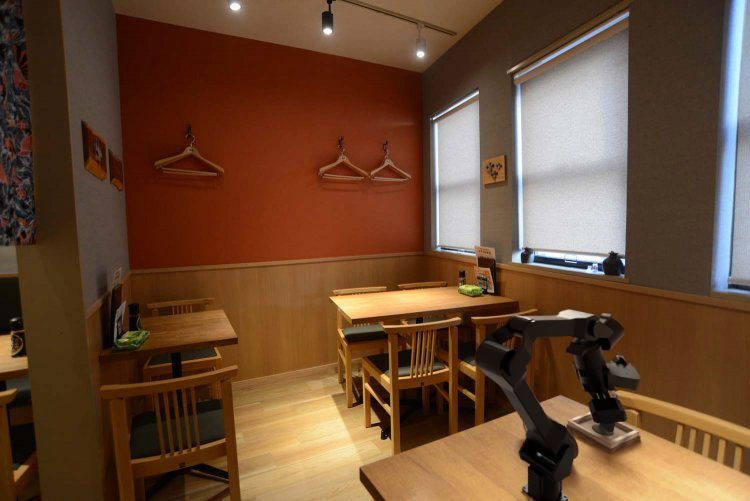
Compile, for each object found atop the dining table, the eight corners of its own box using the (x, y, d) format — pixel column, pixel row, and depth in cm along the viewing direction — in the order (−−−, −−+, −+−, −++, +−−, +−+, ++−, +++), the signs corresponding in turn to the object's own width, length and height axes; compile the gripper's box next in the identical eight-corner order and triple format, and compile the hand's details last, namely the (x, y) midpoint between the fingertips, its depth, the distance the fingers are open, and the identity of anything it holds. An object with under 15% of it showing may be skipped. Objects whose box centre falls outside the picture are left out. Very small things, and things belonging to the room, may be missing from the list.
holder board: (610, 454, 85) (610, 444, 85) (566, 428, 96) (566, 420, 96) (640, 440, 90) (640, 431, 90) (595, 417, 101) (595, 409, 101)
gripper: (650, 385, 67) (663, 448, 71) (616, 332, 84) (629, 384, 87) (585, 392, 71) (601, 450, 75) (566, 339, 88) (579, 389, 92)
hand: (604, 415), depth 82 cm, fingers open, 9 cm apart
